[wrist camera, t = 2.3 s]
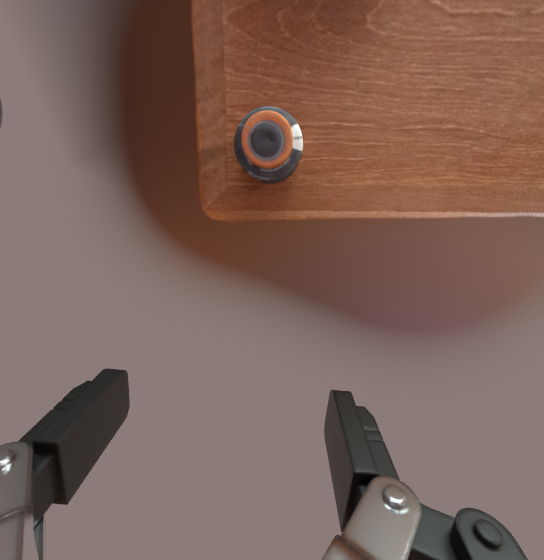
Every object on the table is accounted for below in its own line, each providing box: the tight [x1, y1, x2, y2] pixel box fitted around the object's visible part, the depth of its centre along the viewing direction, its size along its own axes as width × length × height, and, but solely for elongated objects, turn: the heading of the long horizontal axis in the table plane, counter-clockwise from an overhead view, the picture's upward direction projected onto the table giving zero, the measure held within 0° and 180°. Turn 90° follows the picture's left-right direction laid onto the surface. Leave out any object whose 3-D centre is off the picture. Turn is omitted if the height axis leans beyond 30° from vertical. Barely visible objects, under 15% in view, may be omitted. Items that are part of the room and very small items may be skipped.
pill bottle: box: [234, 106, 303, 183], centre depth 28 cm, size 6×6×11 cm
